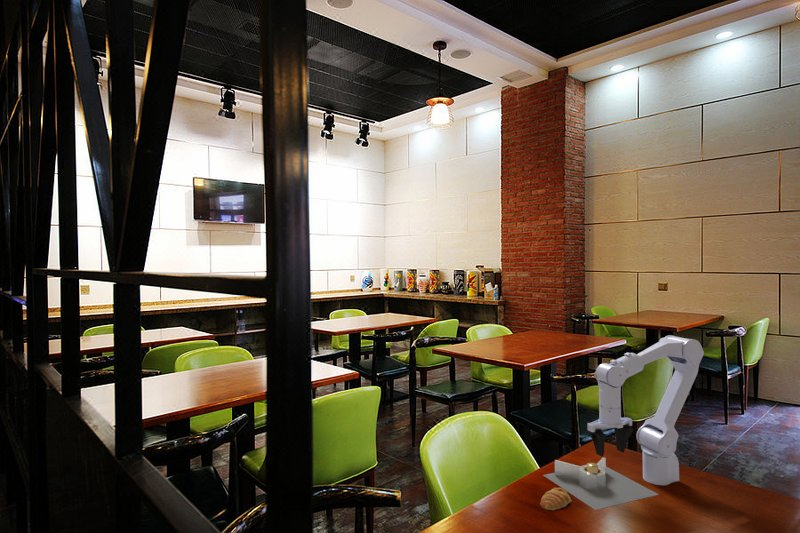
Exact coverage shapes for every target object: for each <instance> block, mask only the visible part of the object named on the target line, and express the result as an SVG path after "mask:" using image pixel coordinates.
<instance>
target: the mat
mask: <svg viewBox="0 0 800 533" xmlns="http://www.w3.org/2000/svg"><path fill="white" fill-rule="evenodd" d="M542 476H543V477H545V478H546V479H547V480H549V481H551V482H553V483H554V484H556V485H557V486H559V488H562V489H564V490H565V491H566V492H567V493H568V494H570V495H572V496H573V497H575V498H576V499H578V500H579V501H581V502H582V503H584V504H585V505H587V506H588V507H590V509H593V510H594V511H597V510H602V509H606V508H610V507H614V506H618V505H621V504H626V503H631V502H635V501H638V500H643V499H646V498H651V497H655V496H659V493H657V492H655V491H653V490H651V489H649V488H647V486H646V487H645V486H643V485H642V484H640V483H638V482H637V481H634V480H633V479H630V478H629V477H627V476H625V475H623V474H622V473H619V472H618V471H615V470H613V469H611V468H610V467H609V466H606V473H605V479H606V486H605V490H602V491H598V492H596V491H591V490H586V489H584V488H583V487H581V486H580V485H579V482H576V481H572V480H569V479H565V478H562V477H558V476H555V472H551V473H546V474H543V475H542Z"/></svg>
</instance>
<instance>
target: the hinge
mask: <svg viewBox="0 0 800 533" xmlns="http://www.w3.org/2000/svg"><path fill="white" fill-rule="evenodd" d="M606 459H607V458H606V457H604V456H602V457H601V459H600V460H599V461H597V463H596V464H597V465H598V473H596V474H594V473H588V472H587V464H584V465H577V464H574V463H569V462H567V461H566V462H565V461H563V460H562V461H561V460H557V459H554V473H555V476H558V477H562V478H565V479H569V480H572V481H576V482H579V485H580V486H581V487H583V488H584V489H586V490H591V491H596V492H598V491H602V490H605V486H606V479H605V473H606V467H607V465H606V464H607V463H606V462H607V461H606Z"/></svg>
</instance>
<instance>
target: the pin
mask: <svg viewBox="0 0 800 533" xmlns="http://www.w3.org/2000/svg"><path fill="white" fill-rule="evenodd" d="M586 465H587V472H588V473H594V474H596V473H598V465H597V463H595V462H587V463H586Z"/></svg>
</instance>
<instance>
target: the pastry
mask: <svg viewBox="0 0 800 533" xmlns="http://www.w3.org/2000/svg"><path fill="white" fill-rule="evenodd" d="M572 502H573V500H572V499H571V496H570V495H569V492H567V491H566V490H564V489H563V488H561V487H553V488H551V490H548V491H546V492H544V494H543V495H542V497H541V499H540V503H539V505H540V506H541V508H542V509H544V510H546V511H556V510H560V509H562V508H566V507H567V505H568V504H570V503H572Z"/></svg>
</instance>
